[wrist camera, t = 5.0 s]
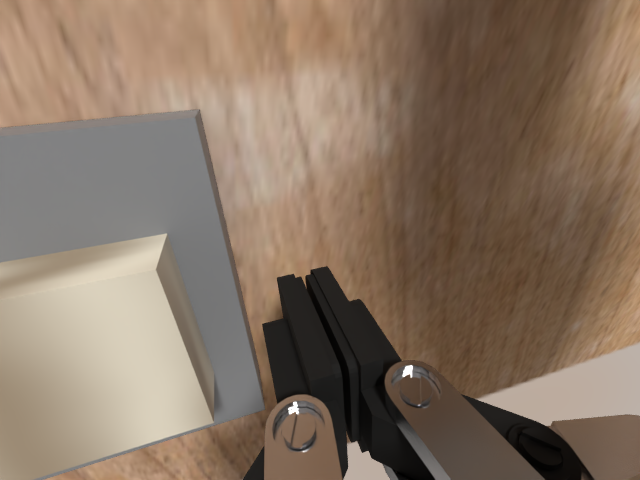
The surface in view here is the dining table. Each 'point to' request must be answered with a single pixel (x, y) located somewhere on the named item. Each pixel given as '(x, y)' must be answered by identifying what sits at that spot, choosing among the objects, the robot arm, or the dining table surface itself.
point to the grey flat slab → (135, 222)
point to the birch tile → (97, 356)
